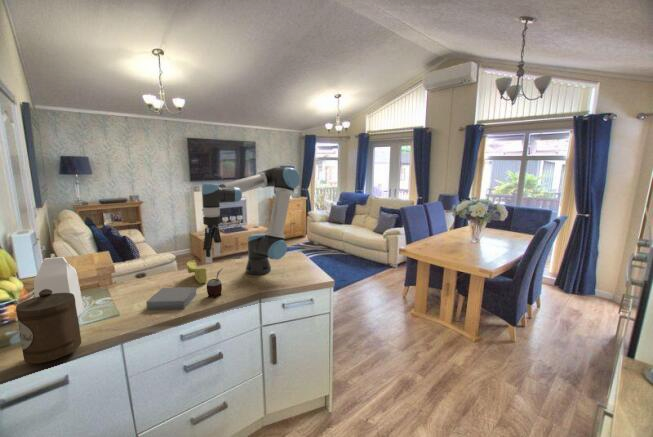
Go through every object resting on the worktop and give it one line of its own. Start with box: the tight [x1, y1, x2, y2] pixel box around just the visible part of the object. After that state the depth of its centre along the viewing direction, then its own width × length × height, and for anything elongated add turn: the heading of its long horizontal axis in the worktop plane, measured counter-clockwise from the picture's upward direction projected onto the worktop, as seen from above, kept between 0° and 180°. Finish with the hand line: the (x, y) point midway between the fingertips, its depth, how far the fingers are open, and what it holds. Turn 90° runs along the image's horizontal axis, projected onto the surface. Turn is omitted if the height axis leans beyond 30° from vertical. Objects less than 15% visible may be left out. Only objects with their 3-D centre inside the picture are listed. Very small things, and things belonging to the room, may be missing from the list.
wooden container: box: [15, 289, 82, 364], centre depth 103 cm, size 15×15×22 cm
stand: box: [146, 286, 197, 311], centre depth 143 cm, size 16×16×4 cm
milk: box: [33, 256, 85, 317], centre depth 125 cm, size 12×12×26 cm
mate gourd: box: [206, 268, 224, 299], centre depth 150 cm, size 8×8×15 cm
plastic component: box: [186, 259, 208, 284], centre depth 171 cm, size 20×7×10 cm, turn 38°
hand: (213, 259), depth 148 cm, fingers open, 13 cm apart
